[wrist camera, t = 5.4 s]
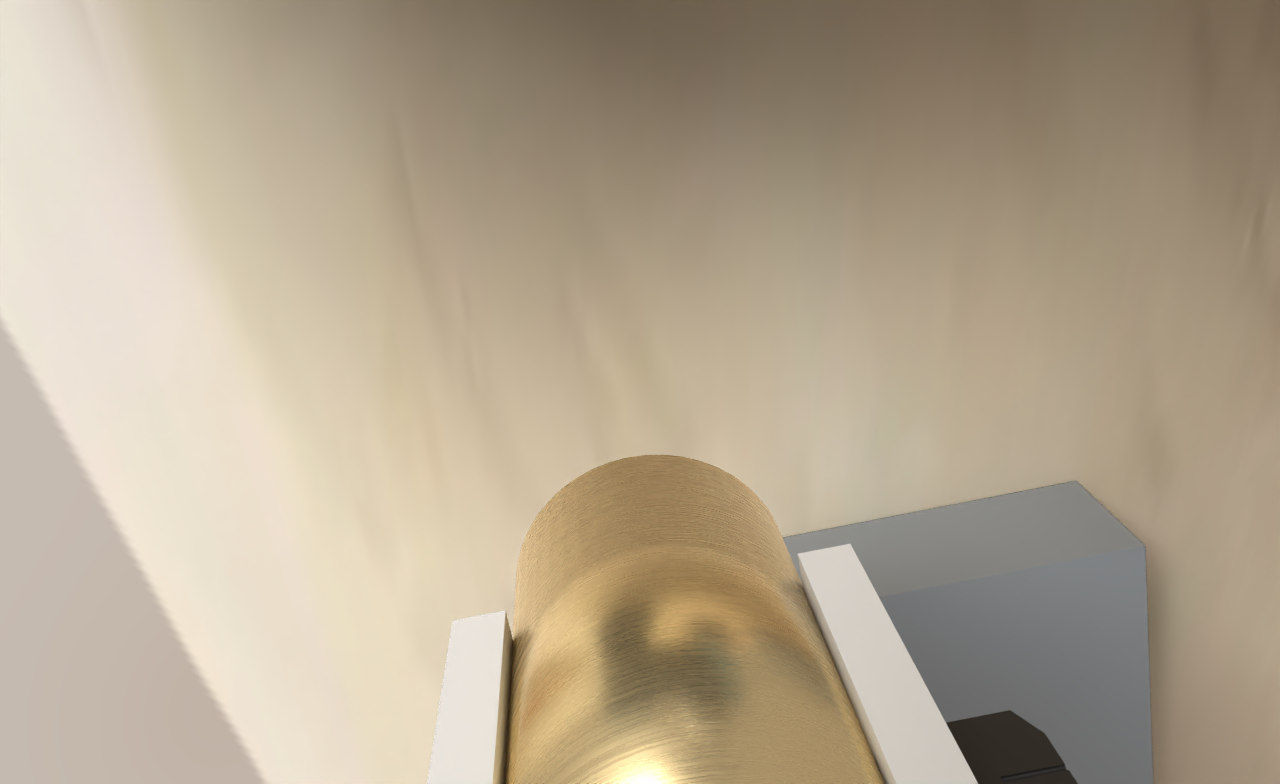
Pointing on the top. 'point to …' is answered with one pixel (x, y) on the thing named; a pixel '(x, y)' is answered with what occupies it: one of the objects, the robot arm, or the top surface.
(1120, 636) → the jig
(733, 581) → the gold metal cylinder
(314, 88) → the top surface
